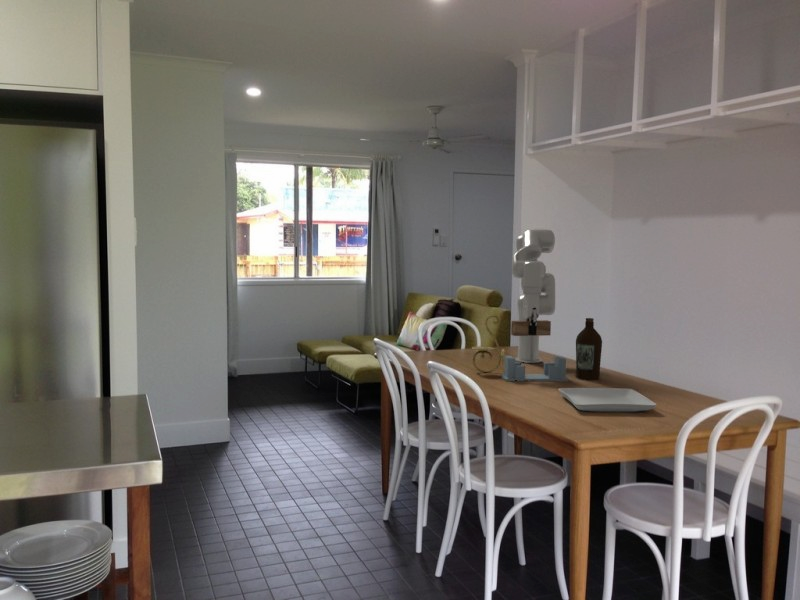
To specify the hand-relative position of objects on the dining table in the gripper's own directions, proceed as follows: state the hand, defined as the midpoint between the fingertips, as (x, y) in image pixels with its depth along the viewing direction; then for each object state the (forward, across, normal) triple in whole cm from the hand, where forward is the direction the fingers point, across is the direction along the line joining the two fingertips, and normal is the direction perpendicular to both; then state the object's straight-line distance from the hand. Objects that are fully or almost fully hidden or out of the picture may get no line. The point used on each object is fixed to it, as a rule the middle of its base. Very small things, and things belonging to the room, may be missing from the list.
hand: (530, 333), depth 298 cm
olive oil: (+18, +5, +23) cm, 30 cm away
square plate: (+19, +54, +13) cm, 59 cm away
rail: (+1, 0, 0) cm, 1 cm away
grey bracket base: (+18, +7, 0) cm, 19 cm away
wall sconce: (+18, -6, -17) cm, 25 cm away
